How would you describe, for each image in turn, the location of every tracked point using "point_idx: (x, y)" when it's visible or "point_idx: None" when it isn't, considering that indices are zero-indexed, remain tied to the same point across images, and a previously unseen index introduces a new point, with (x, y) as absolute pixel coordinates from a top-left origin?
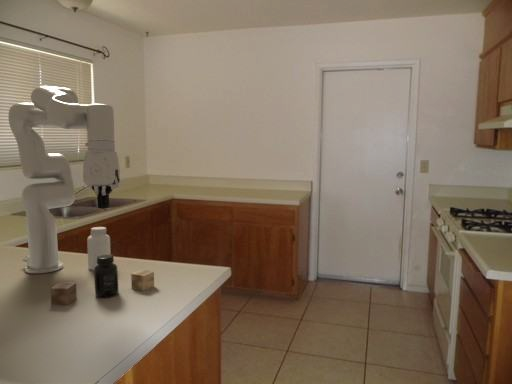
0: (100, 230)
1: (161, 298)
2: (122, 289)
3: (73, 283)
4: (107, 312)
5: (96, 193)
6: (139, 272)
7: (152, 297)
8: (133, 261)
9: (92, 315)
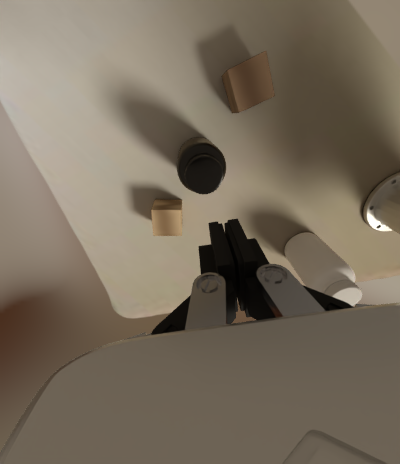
0: (333, 292)
1: (102, 187)
2: None
3: (240, 106)
4: (126, 86)
5: (276, 274)
6: (172, 221)
7: (119, 184)
8: None
9: (138, 57)
